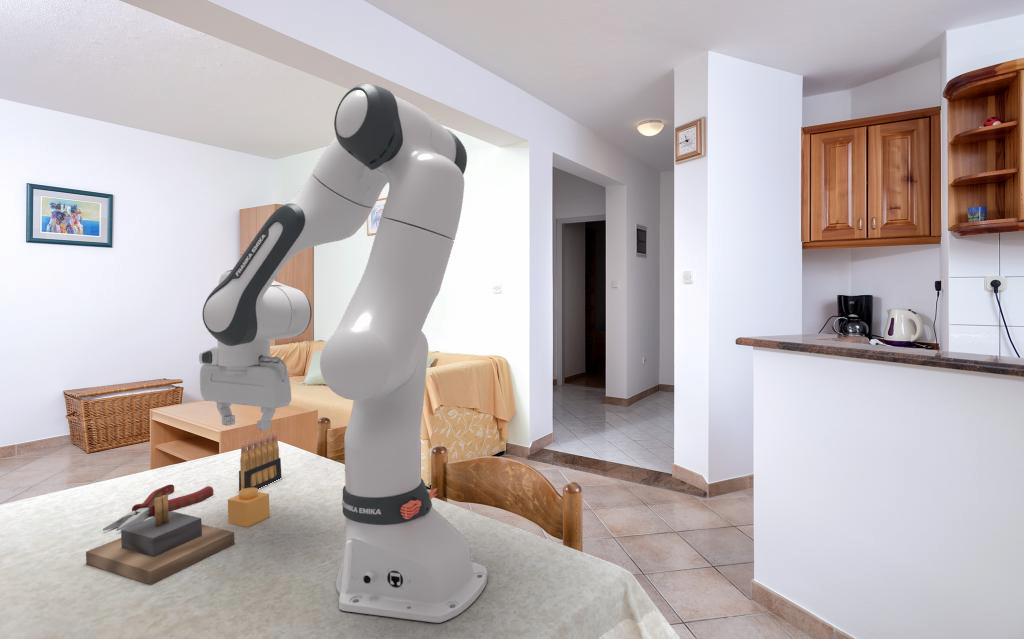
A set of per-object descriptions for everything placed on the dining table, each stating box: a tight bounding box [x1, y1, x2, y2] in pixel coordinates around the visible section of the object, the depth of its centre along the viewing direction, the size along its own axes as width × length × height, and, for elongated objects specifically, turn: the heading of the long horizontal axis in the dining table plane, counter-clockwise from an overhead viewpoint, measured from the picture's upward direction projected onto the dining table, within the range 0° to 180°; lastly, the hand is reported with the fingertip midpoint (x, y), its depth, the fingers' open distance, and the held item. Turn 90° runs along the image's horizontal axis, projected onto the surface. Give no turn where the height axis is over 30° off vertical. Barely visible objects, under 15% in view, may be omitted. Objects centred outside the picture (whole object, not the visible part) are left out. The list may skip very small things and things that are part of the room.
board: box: [85, 495, 235, 585], centre depth 86 cm, size 16×14×10 cm
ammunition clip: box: [238, 428, 283, 492], centre depth 117 cm, size 11×2×12 cm, turn 161°
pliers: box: [102, 484, 214, 532], centre depth 104 cm, size 12×20×3 cm, turn 172°
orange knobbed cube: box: [227, 487, 271, 528], centre depth 99 cm, size 5×5×6 cm
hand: (246, 427), depth 99 cm, fingers open, 8 cm apart
